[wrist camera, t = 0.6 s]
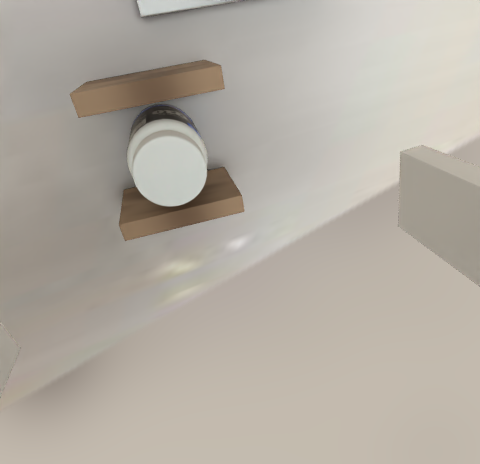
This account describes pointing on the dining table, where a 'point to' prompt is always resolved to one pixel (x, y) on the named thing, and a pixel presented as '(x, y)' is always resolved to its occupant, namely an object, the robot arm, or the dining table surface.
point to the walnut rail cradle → (151, 91)
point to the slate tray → (175, 5)
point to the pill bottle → (166, 156)
